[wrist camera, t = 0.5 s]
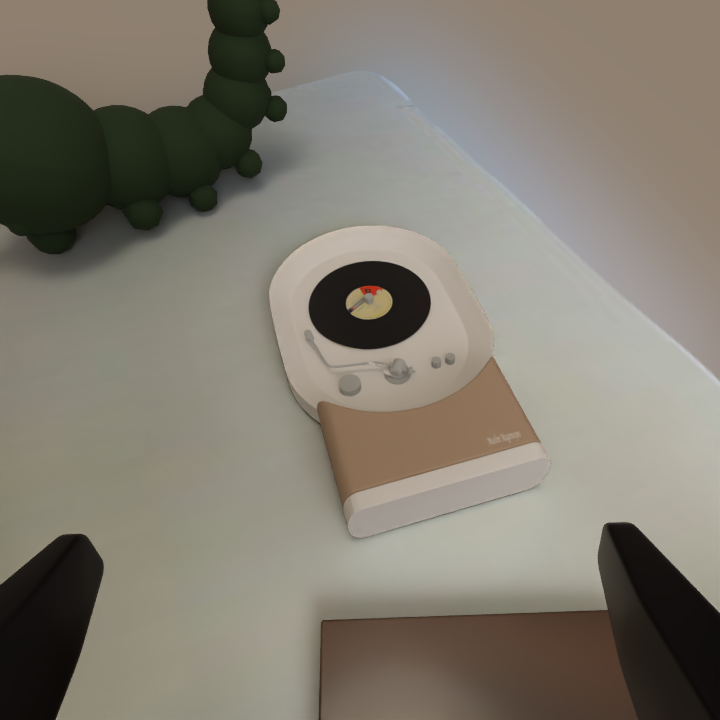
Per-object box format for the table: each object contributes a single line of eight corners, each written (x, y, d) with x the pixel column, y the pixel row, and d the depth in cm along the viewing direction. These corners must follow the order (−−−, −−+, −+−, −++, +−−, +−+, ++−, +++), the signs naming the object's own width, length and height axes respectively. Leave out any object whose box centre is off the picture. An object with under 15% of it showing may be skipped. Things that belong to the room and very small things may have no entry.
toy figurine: (262, 152, 48) (-52, 239, 40) (225, -134, 34) (-281, -94, 25) (312, 205, 43) (-37, 319, 35) (293, -106, 29) (-314, -44, 20)
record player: (318, 522, 22) (250, 229, 35) (327, 548, 25) (260, 266, 37) (580, 446, 24) (425, 190, 36) (564, 479, 26) (424, 228, 38)
